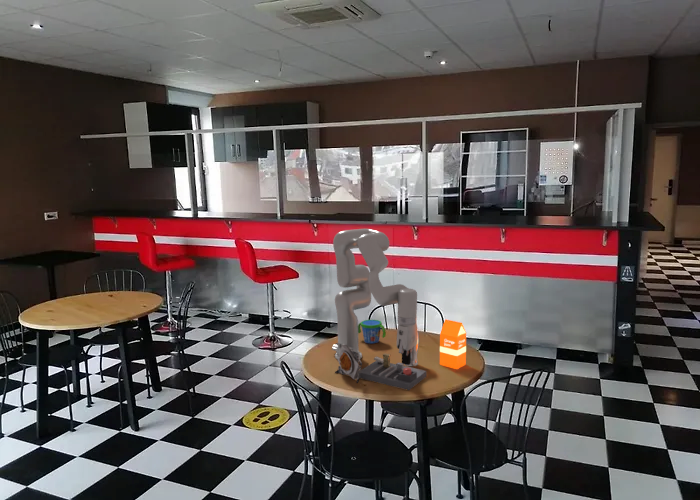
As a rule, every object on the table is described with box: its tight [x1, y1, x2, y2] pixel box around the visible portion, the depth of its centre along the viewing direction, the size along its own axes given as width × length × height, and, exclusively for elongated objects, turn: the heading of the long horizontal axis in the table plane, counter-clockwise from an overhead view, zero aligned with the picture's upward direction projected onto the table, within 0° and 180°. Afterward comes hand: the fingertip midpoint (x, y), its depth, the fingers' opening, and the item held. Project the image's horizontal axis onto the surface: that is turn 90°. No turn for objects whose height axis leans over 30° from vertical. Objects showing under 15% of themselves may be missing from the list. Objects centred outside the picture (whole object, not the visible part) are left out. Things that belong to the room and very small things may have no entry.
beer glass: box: [404, 330, 420, 367], centre depth 232 cm, size 7×7×15 cm
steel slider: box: [395, 361, 405, 372], centre depth 218 cm, size 3×2×3 cm, turn 56°
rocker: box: [373, 355, 383, 363], centre depth 227 cm, size 6×2×1 cm, turn 56°
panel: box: [359, 360, 427, 391], centre depth 218 cm, size 24×16×5 cm, turn 56°
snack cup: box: [358, 319, 387, 345], centre depth 263 cm, size 16×10×10 cm
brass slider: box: [382, 352, 391, 368], centre depth 222 cm, size 3×2×6 cm, turn 56°
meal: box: [334, 342, 363, 383], centre depth 219 cm, size 15×4×13 cm, turn 38°
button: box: [403, 367, 412, 376], centre depth 210 cm, size 3×3×4 cm
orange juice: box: [439, 318, 467, 370], centre depth 230 cm, size 8×9×20 cm
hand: (406, 363), depth 210 cm, fingers closed
